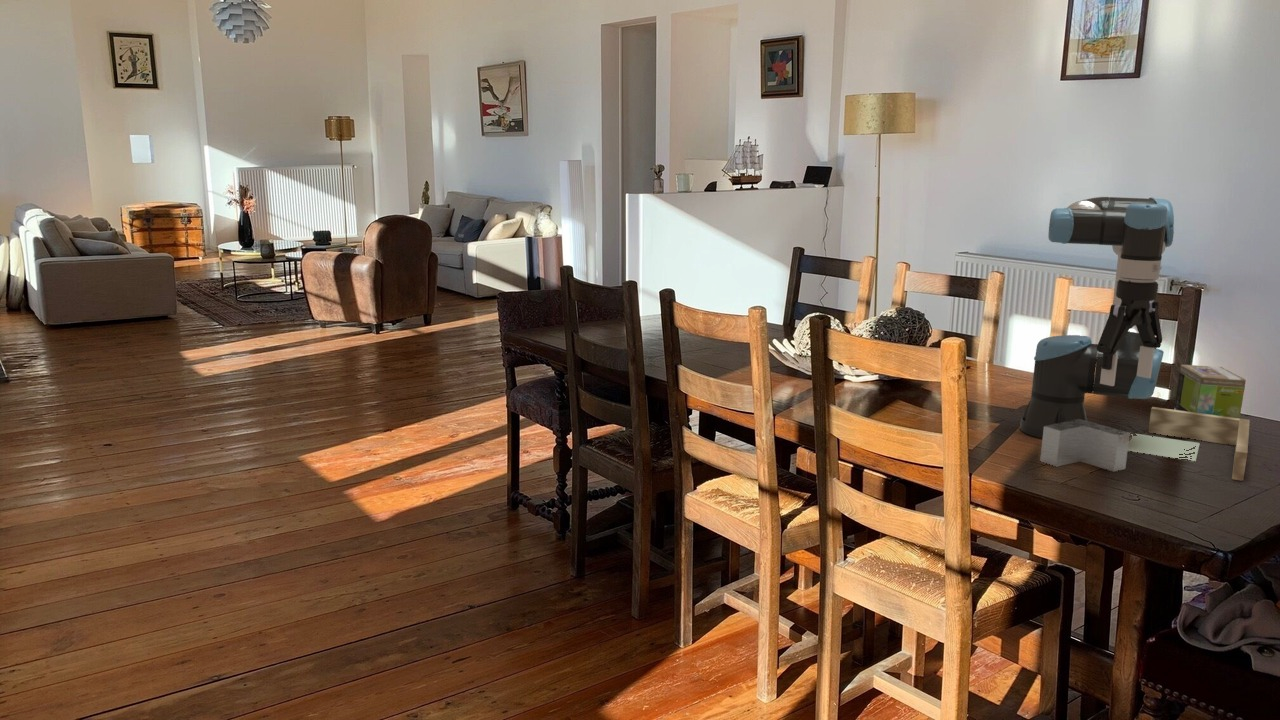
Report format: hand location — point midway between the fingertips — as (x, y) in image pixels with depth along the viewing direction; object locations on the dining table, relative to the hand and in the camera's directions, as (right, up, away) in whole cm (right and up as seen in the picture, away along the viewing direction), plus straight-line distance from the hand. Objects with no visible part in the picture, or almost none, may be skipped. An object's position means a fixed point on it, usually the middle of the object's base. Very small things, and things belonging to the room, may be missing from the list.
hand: (1125, 380), depth 203 cm
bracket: (-7, -18, +5) cm, 20 cm away
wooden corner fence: (+22, -17, +14) cm, 31 cm away
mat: (+17, -15, +19) cm, 30 cm away
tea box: (+36, -13, +33) cm, 50 cm away
